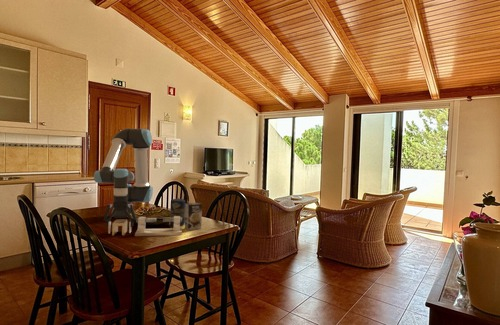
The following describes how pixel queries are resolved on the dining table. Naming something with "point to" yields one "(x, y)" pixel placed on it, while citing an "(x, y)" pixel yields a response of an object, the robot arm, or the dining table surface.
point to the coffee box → (193, 216)
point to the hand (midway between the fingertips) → (119, 232)
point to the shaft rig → (157, 232)
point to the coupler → (119, 223)
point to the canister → (177, 209)
